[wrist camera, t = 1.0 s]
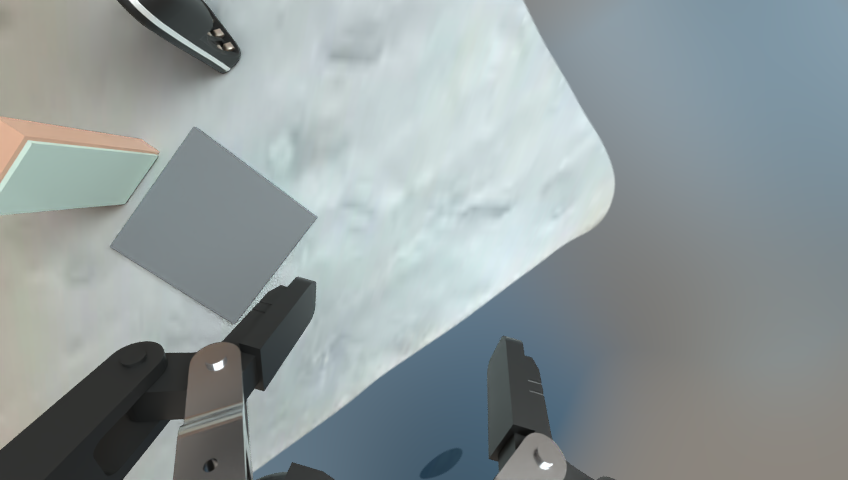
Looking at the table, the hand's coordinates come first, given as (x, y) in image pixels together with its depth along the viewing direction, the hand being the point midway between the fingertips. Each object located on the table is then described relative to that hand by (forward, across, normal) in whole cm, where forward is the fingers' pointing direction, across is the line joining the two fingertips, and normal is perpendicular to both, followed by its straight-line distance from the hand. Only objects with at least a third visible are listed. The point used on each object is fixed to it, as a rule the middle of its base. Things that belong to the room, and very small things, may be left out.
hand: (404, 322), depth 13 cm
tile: (+17, +32, +8) cm, 37 cm away
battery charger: (+24, +26, -6) cm, 36 cm away
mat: (+17, +23, +12) cm, 31 cm away
